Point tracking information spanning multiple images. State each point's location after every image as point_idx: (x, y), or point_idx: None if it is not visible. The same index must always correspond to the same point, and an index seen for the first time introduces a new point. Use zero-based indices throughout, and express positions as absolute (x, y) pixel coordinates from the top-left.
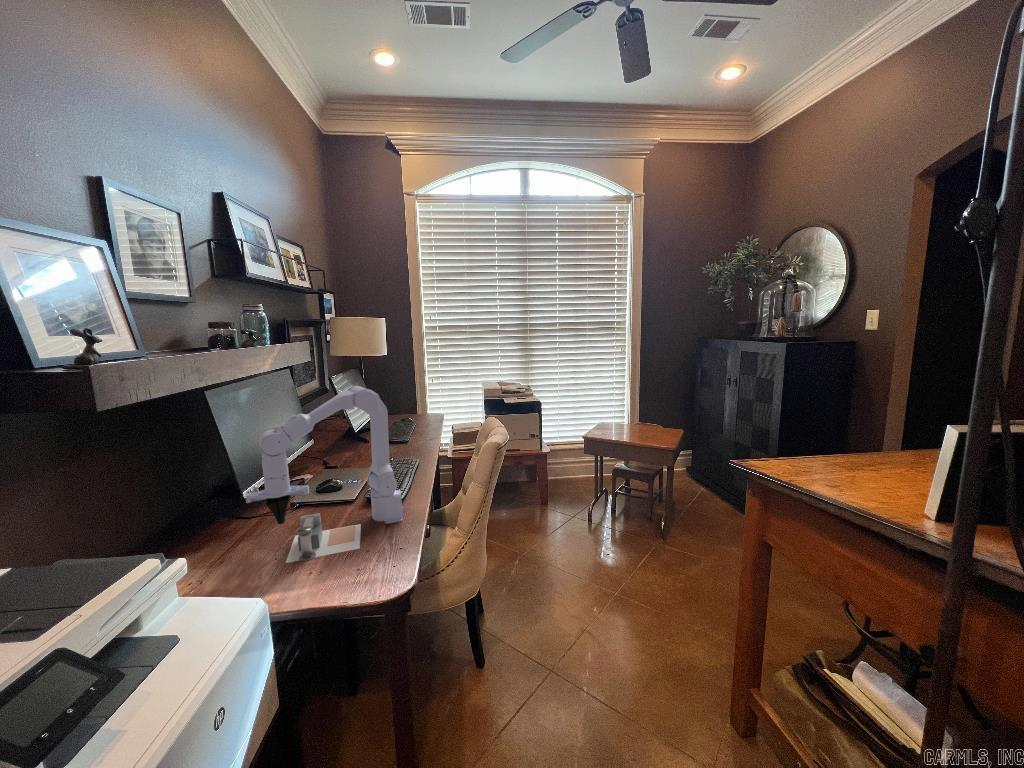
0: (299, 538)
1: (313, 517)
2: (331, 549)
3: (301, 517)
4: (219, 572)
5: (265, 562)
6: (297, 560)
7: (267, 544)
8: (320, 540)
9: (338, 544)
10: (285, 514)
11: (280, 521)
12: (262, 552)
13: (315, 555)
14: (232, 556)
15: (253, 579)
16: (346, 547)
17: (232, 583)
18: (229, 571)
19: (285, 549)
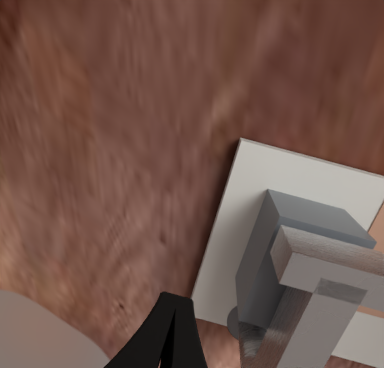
0: (244, 318)
1: (353, 315)
2: None
3: (291, 274)
4: (3, 211)
5: (131, 239)
6: (221, 324)
7: (132, 106)
8: None
9: (366, 316)
10: (195, 328)
11: (163, 350)
12: (117, 164)
13: None
14: (17, 124)
15: (105, 305)
16: (381, 348)
17: (54, 290)
18: (32, 223)
19: (195, 194)
